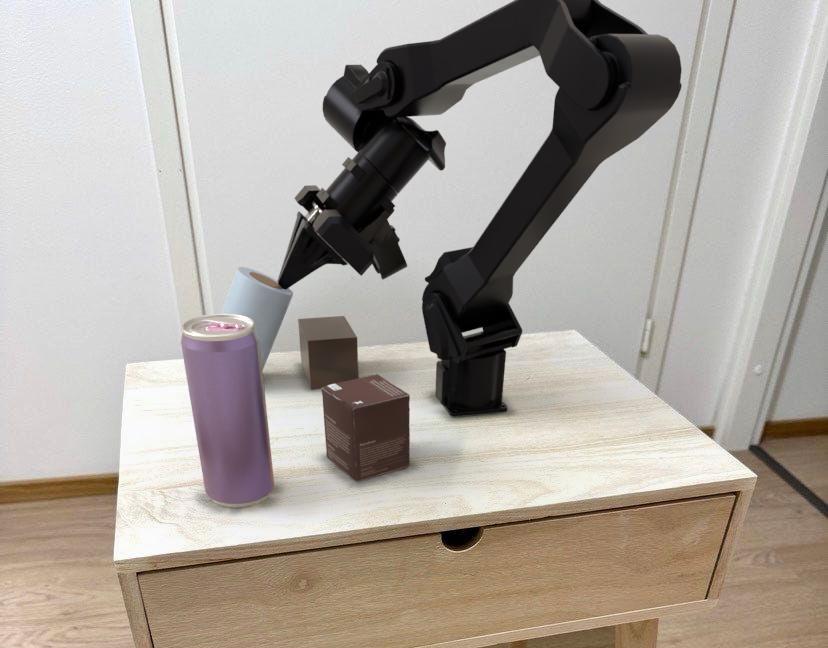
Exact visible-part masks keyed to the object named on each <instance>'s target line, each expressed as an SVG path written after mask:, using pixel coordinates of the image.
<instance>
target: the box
mask: <svg viewBox="0 0 828 648" xmlns="http://www.w3.org/2000/svg"><path fill="white" fill-rule="evenodd" d="M320 389H321V395H322V409H323V410H322V411H323V425H324V437H325V450H326V451H325V453H326V458H327V459H328V460H329V461H331V462H332V463H333V464H334V465H335V466H337V467H338V468H339V469H340V470H341V471H343V472H344V473H345V474H346V475H347V476H349V477H350V478H351V479H352V480H354V482H361V481H364V480H367V479H372V478H374V477H378V476H382V475H384V474H387V473H391V472H394V471H398V470H401V469H405V468H408V467H409V466H410V465H411V463H410V462H411V461H410V444H411V443H410V442H411V441H410V439H411V438H410V437H411V436H410V435H411V433H410V430H411V429H410V420H411V419H410V417H411V416H410V414H411V413H410V410H411V408H410V401H411V400H410V399H411V395H410V394H409V393H408V392H406V391H404V390H403V389H402V388H400V387H398V386H396V385H395V384H394V383H392V382H390V381H388V380H387V379H386V378H384V377H382V376H381V375H379V374H377V373H375V374H371V375H367V376H362V377H358V379H353V380H349V381H344V382H340V383H335V384H331V385H328V386H324V387H322V388H320Z"/></svg>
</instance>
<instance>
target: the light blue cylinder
mask: <svg viewBox="0 0 828 648" xmlns="http://www.w3.org/2000/svg"><path fill="white" fill-rule="evenodd" d="M293 295H294V292H293V290H292V289H291V288H290V287H289V288H288V289H283V288H282V287H281V286H280V285H279V284H278V279H275V278H274V277H271V276H269V275H267V274H265V273H263V272H260V271H258V270H255V269H252V268H249V267H245V266H237V268H236V271H235V274H234V276H233V279H232V281H231V285H230V288H229V290H228V293H227V296H226V299H225V302H224V304H223V307H222V310H221V313H220V314H237V315H242V316H246V317H249V318H251V319H252V320H253V321H254V322H255V329H256V331H257V333H258V335H259V341H260V351H261V361H262V370H263V371H264V368H265V366H266V364H267V361H268V359H269V356H270V354H271V351H272V348H273V346H274V344H275V341H276V340H277V339H276V338H277V336H278V334H279V332H280V328H281V326H282V324H283V321H284V318H285V315H286V313H287V311H288V308H289V306H290V304H291V301H292V298H293Z"/></svg>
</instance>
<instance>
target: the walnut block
mask: <svg viewBox="0 0 828 648" xmlns="http://www.w3.org/2000/svg"><path fill="white" fill-rule="evenodd" d="M297 322H298V323H297V324H298V336H299V337H298V339H299V350H300V364H301V367H302V370H303V373H304V375H305V378H306V380H307V383H308V385H309V389H310V390H319V389H321V388H322V387H324V386H328V385H331V384H335V383H340V382H344V381H349V380H353V379H358V378H359V354H358V353H359V350H358V349H359V348H358V347H359V346H358V336H357V335H356V333H355V331H354V329H353V328H352V326H351V325H350V323H349V321H348V320H347V318H346V316H345V315H336V316H322V317H308V318H307V317H306V318H298V319H297Z"/></svg>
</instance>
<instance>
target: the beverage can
mask: <svg viewBox="0 0 828 648" xmlns="http://www.w3.org/2000/svg"><path fill="white" fill-rule="evenodd" d="M180 327H181V328H180V329H181V332H182V333H181V338H180V345H181V350H182V351H181V352H182V358H183V363H184V364H183V365H184V370H185V375H186V383H187V387H188V388H187V389H188V395H189V401H190V406H191V412H192V418H193V426H194V430H195V437H196V443H197V449H198V456H199V463H200V468H201V473H202V480H203V486H204V492H205V494H206V495H207V496H208V498H209V499H210V500H211V501H212V502H213V503H215V504H217V505H218V506H221V507H224V508H225V507H226V508H235V509H239V508H247V507H251V506H254V505H258V504H260V503H262V502H264V501H266V499H267V498H268V497H269V496H270V495H271V493H272V491H273V489H274V487H275V477H274V468H273V457H272V449H271V439H270V438H271V437H270V429H269V420H268V410H267V409H268V408H267V401H266V400H267V399H266V390H265V382H264V381H265V380H264V369H263V370H262V361H261V351H260V341H259V335H258V333H257V331H256V329H255V322H254V321H253V320H252V319H251V318H249V317H246V316H242V315H237V314H221V313H211V314H204V315H199V316H196V317H192V318H190V319H188V320H186V321H184V322H183V323H182V324H181V326H180Z"/></svg>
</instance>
